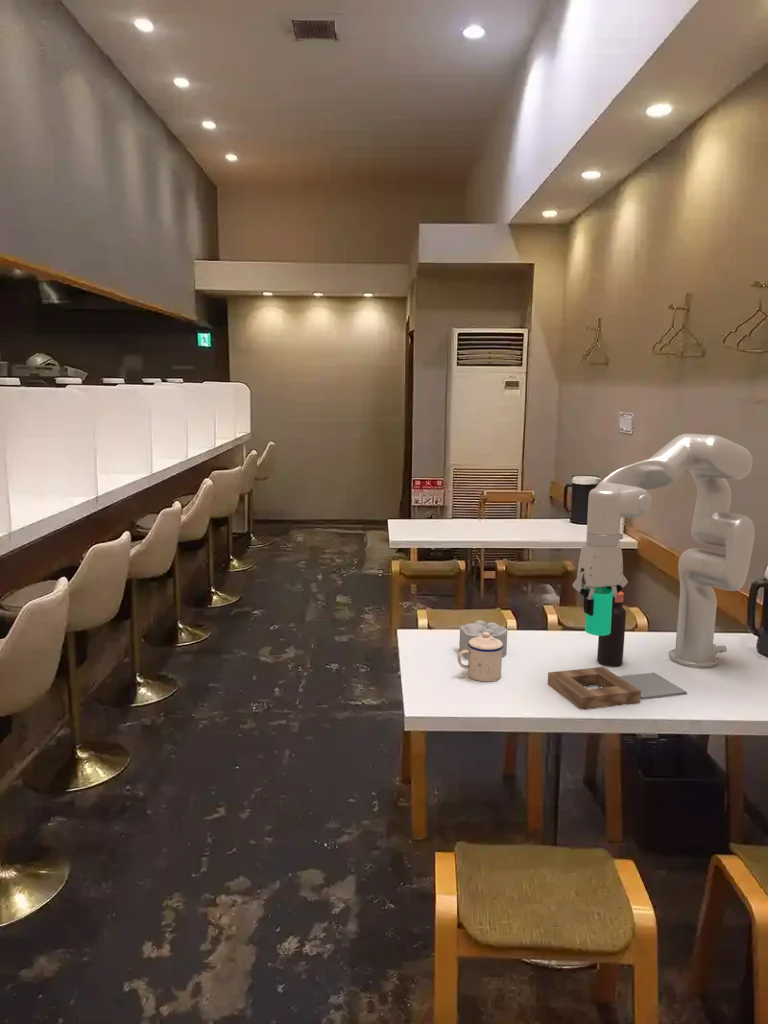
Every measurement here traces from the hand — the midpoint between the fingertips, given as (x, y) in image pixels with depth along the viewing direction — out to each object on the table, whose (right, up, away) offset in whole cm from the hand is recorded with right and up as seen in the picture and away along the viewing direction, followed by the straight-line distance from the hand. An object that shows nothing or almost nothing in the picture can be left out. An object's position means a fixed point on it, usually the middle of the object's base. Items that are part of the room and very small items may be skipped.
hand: (598, 612), depth 177 cm
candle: (0, -5, +1) cm, 5 cm away
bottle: (+10, -17, +24) cm, 31 cm away
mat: (+15, -20, +8) cm, 26 cm away
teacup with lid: (-27, -19, +13) cm, 36 cm away
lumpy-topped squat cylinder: (-24, -16, +29) cm, 41 cm away
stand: (-1, -20, +3) cm, 21 cm away
